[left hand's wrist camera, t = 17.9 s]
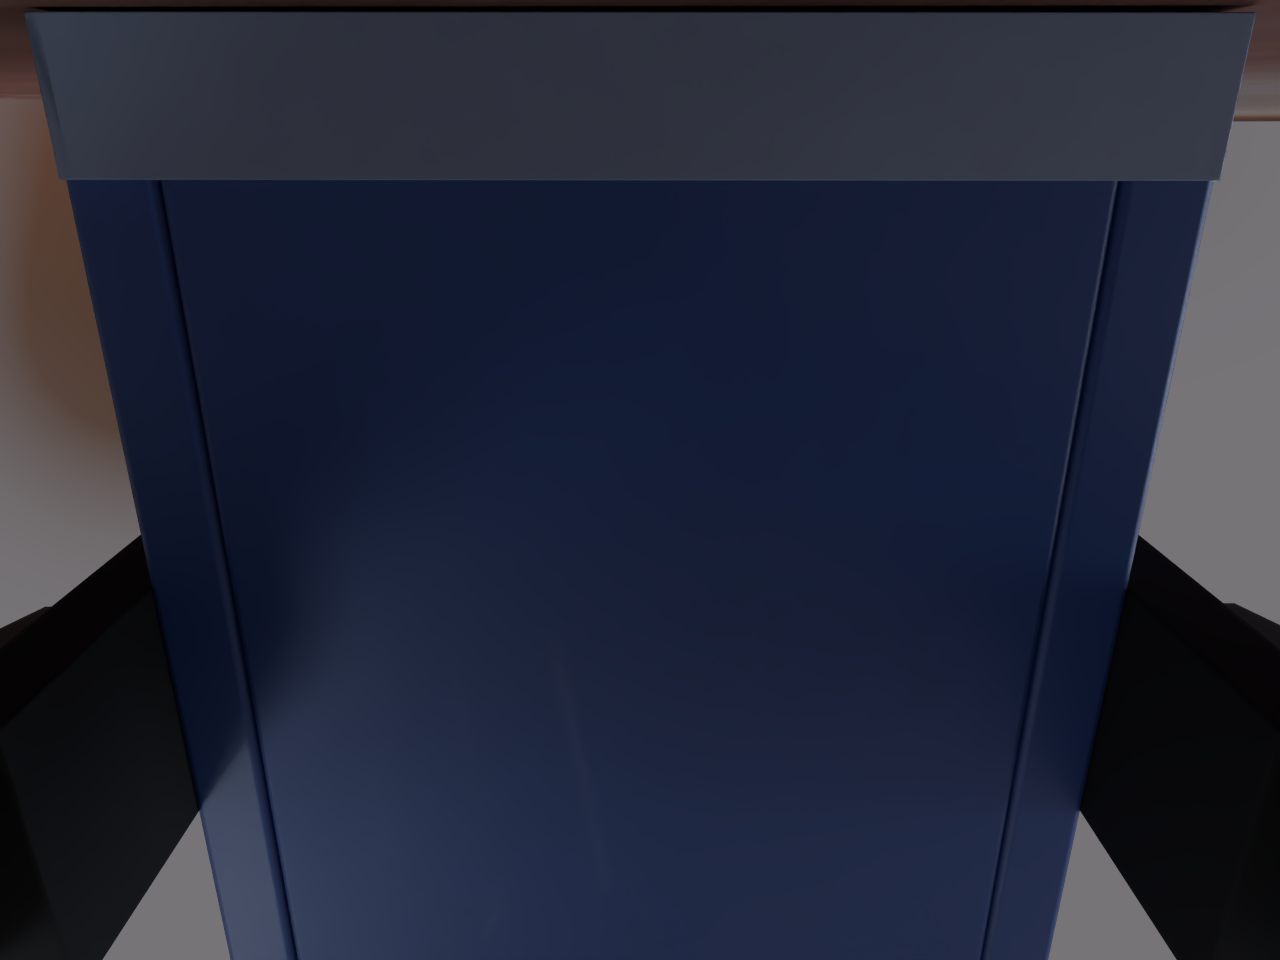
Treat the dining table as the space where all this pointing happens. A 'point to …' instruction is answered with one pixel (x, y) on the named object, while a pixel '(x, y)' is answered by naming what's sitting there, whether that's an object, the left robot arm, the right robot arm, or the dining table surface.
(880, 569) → the chest
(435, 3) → the dining table surface
